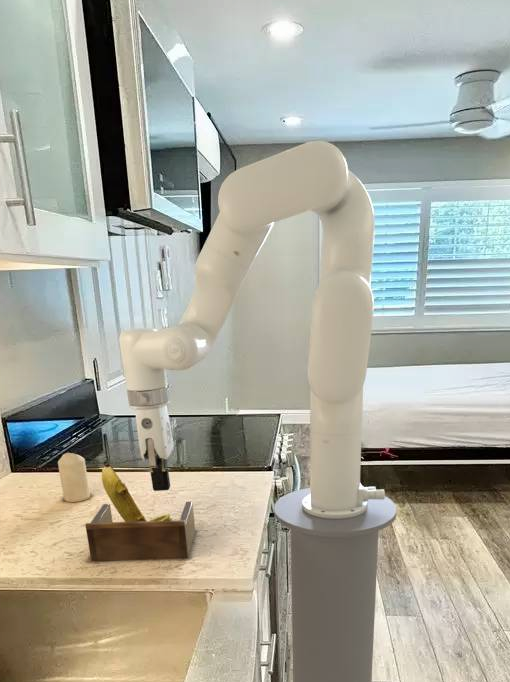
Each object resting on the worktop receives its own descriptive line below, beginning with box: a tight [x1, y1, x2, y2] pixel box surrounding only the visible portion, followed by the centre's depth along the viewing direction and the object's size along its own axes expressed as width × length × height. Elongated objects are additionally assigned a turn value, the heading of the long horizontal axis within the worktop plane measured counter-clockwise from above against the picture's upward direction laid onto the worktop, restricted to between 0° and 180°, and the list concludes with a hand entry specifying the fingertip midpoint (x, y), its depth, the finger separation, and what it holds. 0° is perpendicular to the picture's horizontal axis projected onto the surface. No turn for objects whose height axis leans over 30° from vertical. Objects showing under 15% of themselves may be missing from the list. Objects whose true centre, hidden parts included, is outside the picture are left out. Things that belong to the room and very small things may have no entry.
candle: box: [57, 452, 91, 503], centre depth 124 cm, size 6×6×10 cm
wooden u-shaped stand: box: [85, 501, 196, 562], centre depth 101 cm, size 16×11×7 cm
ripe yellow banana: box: [101, 460, 173, 522], centre depth 102 cm, size 12×8×15 cm
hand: (161, 489), depth 114 cm, fingers closed
